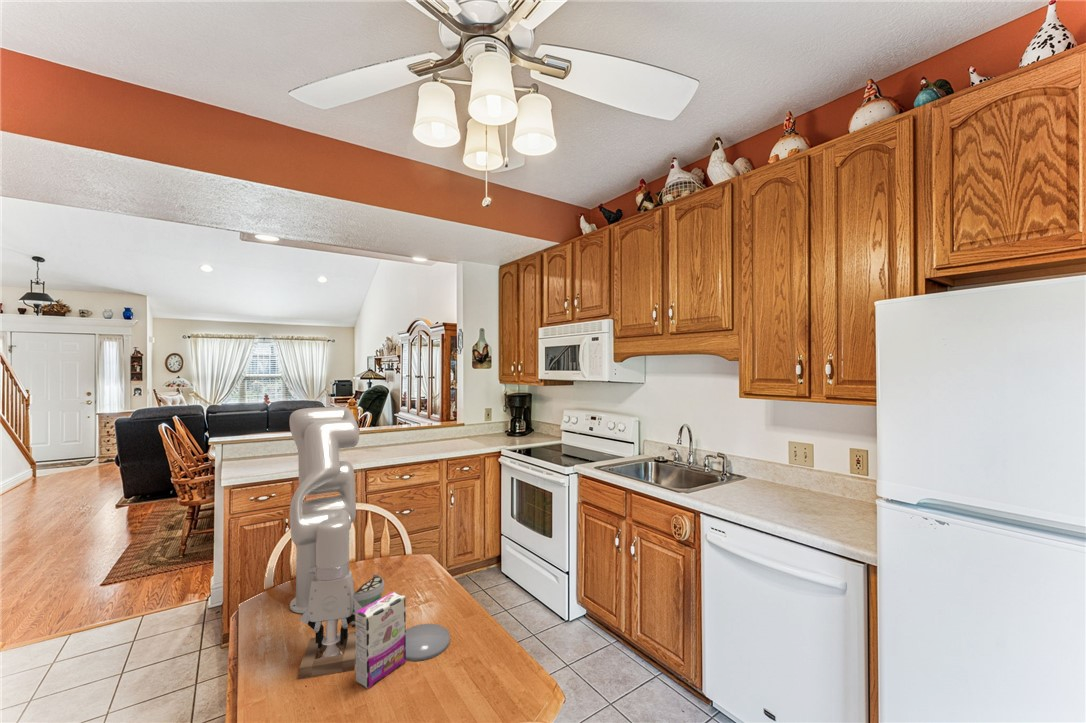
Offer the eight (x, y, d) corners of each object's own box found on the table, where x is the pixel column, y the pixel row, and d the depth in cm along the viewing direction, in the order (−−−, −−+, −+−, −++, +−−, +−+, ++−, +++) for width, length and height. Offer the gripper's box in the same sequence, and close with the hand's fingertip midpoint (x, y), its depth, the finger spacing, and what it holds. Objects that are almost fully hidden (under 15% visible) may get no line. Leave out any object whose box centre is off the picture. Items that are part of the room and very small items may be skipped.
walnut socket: (310, 647, 115) (310, 638, 115) (360, 640, 118) (360, 630, 119) (298, 679, 104) (299, 668, 104) (354, 669, 107) (354, 659, 107)
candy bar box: (392, 655, 112) (393, 590, 113) (406, 662, 110) (407, 595, 110) (353, 682, 103) (354, 610, 103) (367, 690, 100) (368, 617, 100)
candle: (314, 664, 109) (315, 614, 109) (328, 650, 114) (328, 603, 114) (334, 666, 108) (335, 617, 108) (347, 652, 113) (348, 605, 113)
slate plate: (395, 632, 122) (395, 628, 122) (447, 624, 126) (447, 620, 126) (393, 665, 109) (393, 660, 109) (451, 655, 112) (451, 650, 112)
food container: (368, 632, 122) (369, 595, 122) (348, 629, 123) (349, 593, 123) (392, 608, 134) (392, 575, 134) (374, 606, 135) (374, 573, 135)
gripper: (291, 581, 105) (289, 658, 105) (366, 572, 110) (366, 647, 110) (299, 567, 113) (298, 639, 112) (370, 560, 117) (369, 629, 117)
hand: (331, 642), depth 111 cm, fingers closed on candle, 4 cm apart
